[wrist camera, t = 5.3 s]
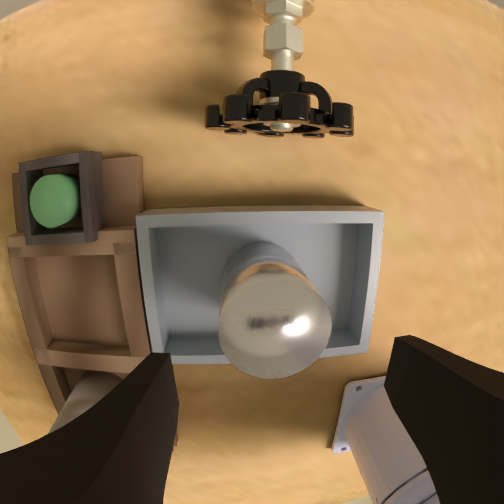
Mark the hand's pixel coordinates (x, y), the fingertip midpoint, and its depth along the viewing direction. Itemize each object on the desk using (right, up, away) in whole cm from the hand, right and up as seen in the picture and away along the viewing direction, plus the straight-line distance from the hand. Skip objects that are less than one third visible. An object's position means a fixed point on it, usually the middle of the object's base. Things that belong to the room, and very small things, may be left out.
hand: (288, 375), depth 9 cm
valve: (0, +16, +6) cm, 17 cm away
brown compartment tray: (-11, -1, +9) cm, 14 cm away
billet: (-1, +2, +8) cm, 9 cm away
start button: (-11, +7, +5) cm, 14 cm away
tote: (-1, +2, +9) cm, 9 cm away
